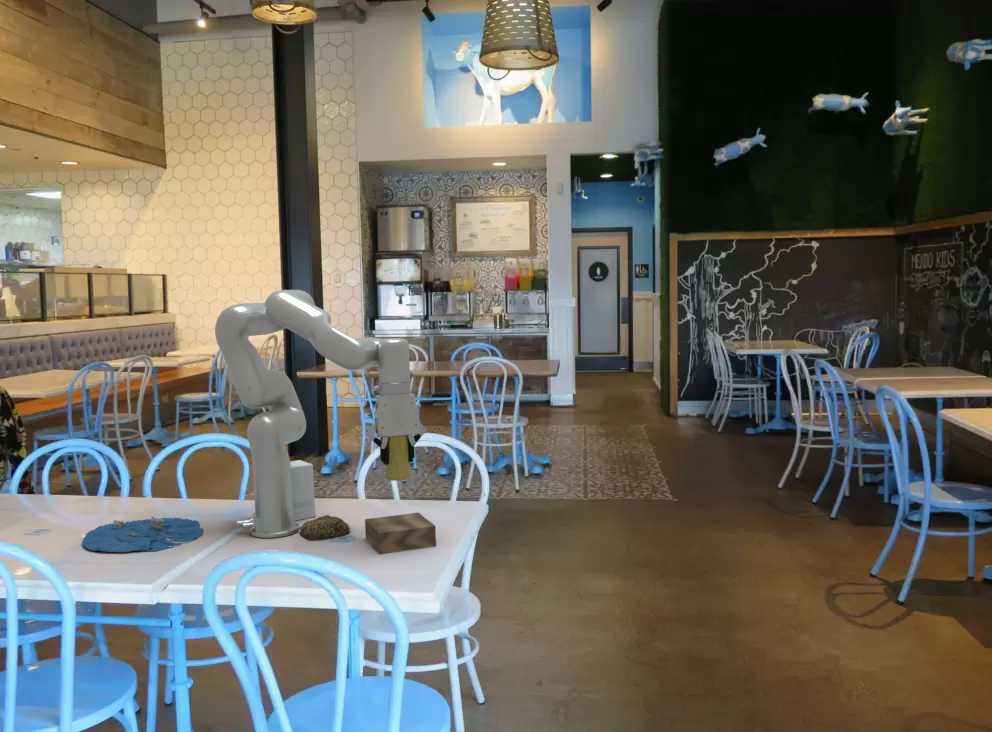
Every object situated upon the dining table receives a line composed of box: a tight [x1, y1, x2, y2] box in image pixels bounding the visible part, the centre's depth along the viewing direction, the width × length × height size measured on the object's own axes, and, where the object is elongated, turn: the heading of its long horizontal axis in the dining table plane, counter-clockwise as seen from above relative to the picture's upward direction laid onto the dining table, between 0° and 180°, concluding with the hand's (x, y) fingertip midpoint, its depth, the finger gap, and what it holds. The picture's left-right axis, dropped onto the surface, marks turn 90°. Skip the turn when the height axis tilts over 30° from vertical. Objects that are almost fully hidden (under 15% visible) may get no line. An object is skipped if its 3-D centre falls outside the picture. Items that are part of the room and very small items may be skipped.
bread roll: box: [299, 514, 351, 541], centre depth 221 cm, size 13×12×5 cm
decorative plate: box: [82, 516, 204, 553], centre depth 222 cm, size 30×30×5 cm
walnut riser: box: [364, 512, 437, 555], centre depth 211 cm, size 14×14×5 cm
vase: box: [385, 435, 412, 482], centre depth 209 cm, size 6×6×14 cm
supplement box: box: [290, 459, 317, 522], centre depth 238 cm, size 9×9×15 cm
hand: (397, 461), depth 210 cm, fingers closed on vase, 5 cm apart
